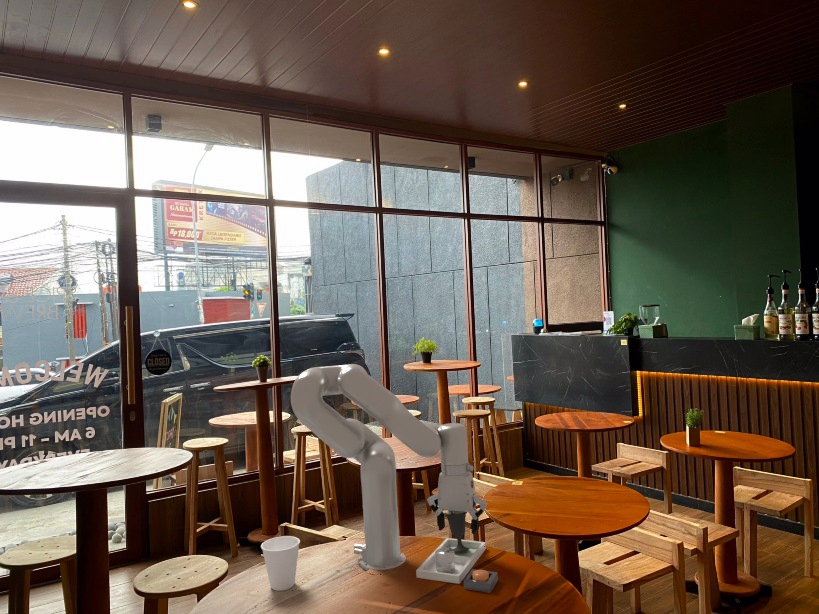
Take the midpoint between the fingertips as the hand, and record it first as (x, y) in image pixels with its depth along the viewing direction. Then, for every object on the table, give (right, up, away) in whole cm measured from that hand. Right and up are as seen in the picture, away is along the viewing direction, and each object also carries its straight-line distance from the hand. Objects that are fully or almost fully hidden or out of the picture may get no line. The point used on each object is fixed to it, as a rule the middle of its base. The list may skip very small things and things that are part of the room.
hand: (458, 530), depth 164 cm
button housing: (+4, -7, -19) cm, 20 cm away
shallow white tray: (-2, -8, -5) cm, 9 cm away
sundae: (+1, -6, +2) cm, 6 cm away
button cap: (+4, -6, -19) cm, 20 cm away
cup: (-46, -10, -11) cm, 49 cm away
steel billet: (-4, -7, -10) cm, 13 cm away
